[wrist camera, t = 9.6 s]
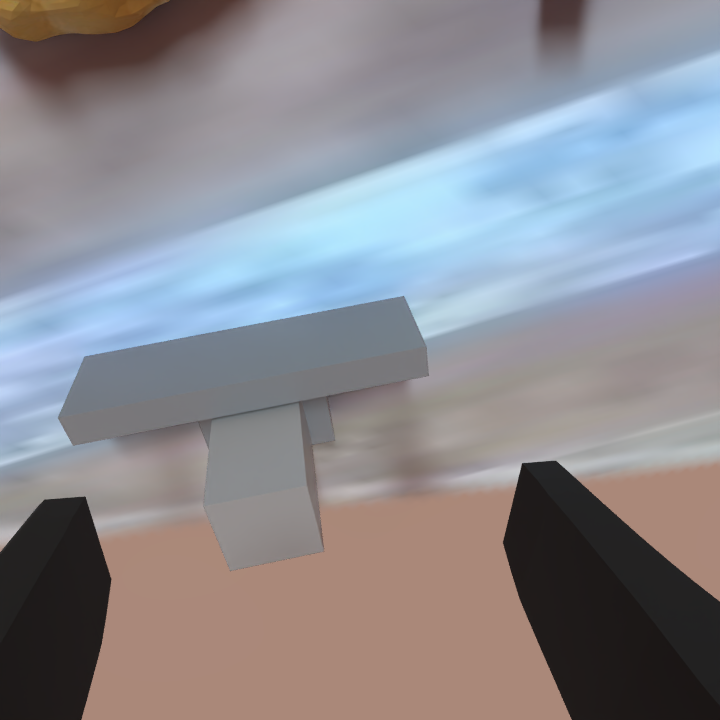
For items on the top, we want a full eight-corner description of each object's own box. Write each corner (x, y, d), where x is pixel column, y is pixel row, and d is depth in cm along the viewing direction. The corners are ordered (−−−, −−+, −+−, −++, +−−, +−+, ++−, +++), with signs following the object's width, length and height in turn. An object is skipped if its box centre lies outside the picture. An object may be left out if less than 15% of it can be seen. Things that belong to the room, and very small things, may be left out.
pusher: (404, 295, 19) (456, 415, 14) (414, 395, 21) (463, 529, 16) (84, 356, 18) (20, 502, 13) (130, 451, 20) (90, 606, 16)
